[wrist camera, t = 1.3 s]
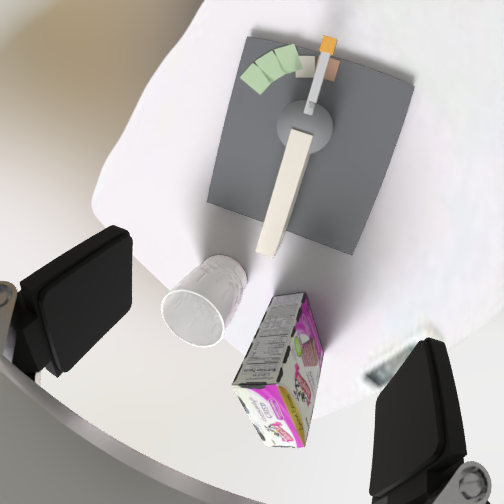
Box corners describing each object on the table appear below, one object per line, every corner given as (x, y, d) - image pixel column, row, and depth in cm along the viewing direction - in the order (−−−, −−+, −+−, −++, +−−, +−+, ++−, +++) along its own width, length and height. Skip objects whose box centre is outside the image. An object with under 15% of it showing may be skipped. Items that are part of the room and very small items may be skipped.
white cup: (192, 251, 42) (152, 288, 34) (246, 249, 40) (215, 290, 31) (204, 300, 45) (172, 343, 37) (256, 302, 43) (231, 350, 34)
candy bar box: (326, 353, 43) (306, 449, 29) (293, 356, 45) (264, 448, 31) (307, 288, 39) (277, 385, 25) (271, 294, 41) (227, 386, 27)
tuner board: (251, 37, 28) (247, 34, 27) (412, 85, 26) (415, 84, 24) (210, 199, 38) (206, 202, 37) (352, 251, 35) (351, 256, 34)
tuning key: (308, 39, 26) (302, 29, 22) (356, 53, 25) (357, 45, 21) (253, 232, 37) (241, 246, 33) (294, 247, 36) (287, 263, 32)
